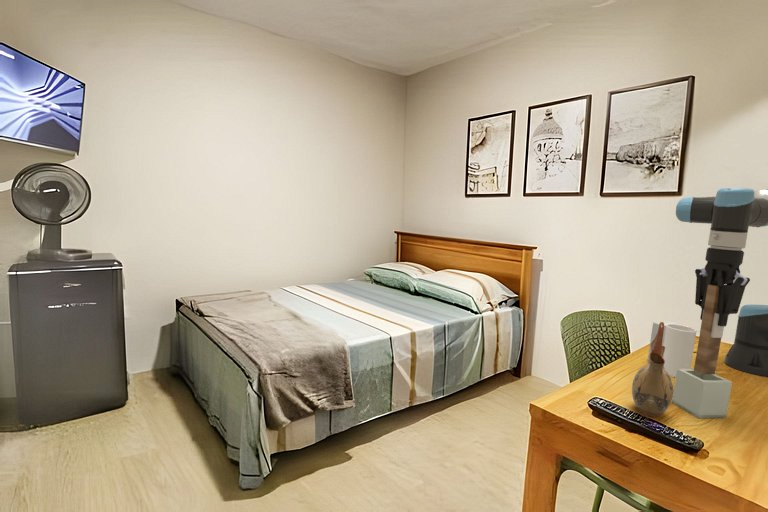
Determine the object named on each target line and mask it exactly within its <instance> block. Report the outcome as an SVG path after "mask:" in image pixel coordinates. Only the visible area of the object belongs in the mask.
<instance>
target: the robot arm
mask: <svg viewBox="0 0 768 512" xmlns="http://www.w3.org/2000/svg"><path fill="white" fill-rule="evenodd" d="M675 207H676V208H675V217H676V218H677V220H678V221H680V222H684V223H690V224H692V223H693V224H709V225H710V231H709V237H708V240H707V242H708V243H707V245H708V246H710V247H707V248H706V254H705V259H704V260H705V261H706V264H705V266H704V267H702V268H696V269H695V270H694V273H695V277H696V280H695V281H696V284H695V300H694V303H695V305H696V306H699V307H700V308H701V310H700V311H701V312H700V320H701V323H700V325H701V324H702V318H703V312H704V306H705V300H706V294H707V288H708V285H718V287H719V301H718V311H715V312H716V313H715V314H714V320H713V326H712V332H711V337H713V338H721V339H722V338H723V335H724V330H725V329H724V328H725V327H727V324H728V320H729V319H728V318H729V316H730V315H733V314H734V315H736V314H738V313H739V314H738V315H737V317H738V319H737V324H736V329H735V330H736V331H735V335H734V336H735V337H734V342H733V344H732V345H731V346H730V348H729V350H728V352H727V353H726V355H725V358H724V361H723V362H724V363H725V364H726V365H727V366H729V367H731V368H733V369H736V370H739V371H742V372H746V373H747V374H752V375H757V376H764V377H768V305H767V304H744V305H743V306H741V303H742V299H743V296H744V293H745V290H746V287H747V285H748V284H749V283H750V282H751V278H749V277H745V276H744V275H742V274H741V270H740V266H741V265H742V264H743V262H744V261H743V260H744V256H745V252H744V250H743V249H746V246H747V238H748V232H749V227H750V228H751V227H752V228H761V227H767V226H768V189H767V188H766V189H758V190H755V191H754V189H752V188H748V187H746V188H745V187H723V188H722V187H721V188H719V189H718V190H717V191H716V194H715V195H714V196H705V197H704V196H703V197H701V196H700V197H695V196H692V197H687V196H686V197H682V198H681V199H680V200H679V201H678V202H677V204H676V206H675ZM740 306H741V307H740ZM700 330H701V327H700V329H699V331H700Z"/></svg>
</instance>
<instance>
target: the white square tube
mask: <svg viewBox="0 0 768 512" xmlns="http://www.w3.org/2000/svg"><path fill="white" fill-rule="evenodd" d="M674 381H675V382H674V385H673V397H672V401H671V403H672V404H674V405H675V406H677V407H679V408H680V409H682V410H684V411H685V412H687V413H689V414H690V415H692V416H693V417H695V418H697V419H725V418H727V415H728V414H727V413H728V408H729V402H730V397H731V392H732V387H733V382H732V381H730V380H729V379H726V378H724V377H722V376H720V375H718V374H716V373H715V374H700V373H698V372H696V371H694V368H690V369H677V374H676V377H675V380H674Z"/></svg>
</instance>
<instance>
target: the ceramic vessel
mask: <svg viewBox="0 0 768 512" xmlns="http://www.w3.org/2000/svg"><path fill="white" fill-rule="evenodd" d="M659 322H660V323H659V328H658V332H657V335H656V337H655V338H654V340H653V341H652V343H651V353H650V355H649V361H648V362H647V364H646V365H644V366H642V367H641V368H640V369H639V370H638V371H637V372H636V374H635V376H634V378H633V379H632V380H633V381H632V386H631V395H632V399H633V403H634V405H635V406H636V408H637V409H638V411H639V412H640V413H641V414H642V415H644V416H647V417H649V418H650V417H652V418H655V417H659V416H661V415H663V414H664V413H665V412H666V411H667V410H668V408H669V407H670V406H671V403H672V399H673V392H674V385H673V381H672V378H671V376H669V374H668V373H667V372H666V371H665V369H664V364H665V360H664V358H663V355H664V351H665V347H664V346H662V340H663V332H664V323H663V322H664V321H659Z"/></svg>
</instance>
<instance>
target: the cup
mask: <svg viewBox="0 0 768 512" xmlns="http://www.w3.org/2000/svg"><path fill="white" fill-rule="evenodd" d="M696 336H697V328H694V327H692V326H687V325H684V324H680V325H679V323H677V324H667V325H666V331H665V338H664V344H663V346H664V347H665V351H664V355H663V358H664V360H665V364H664V369H665V371H666V372H667V373H668V374H669V376H670V377H673V378H676V374H677V369H692V363H693V362H692V361H693V355H694V349H695V345H696V344H695V343H696V338H697V337H696Z"/></svg>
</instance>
